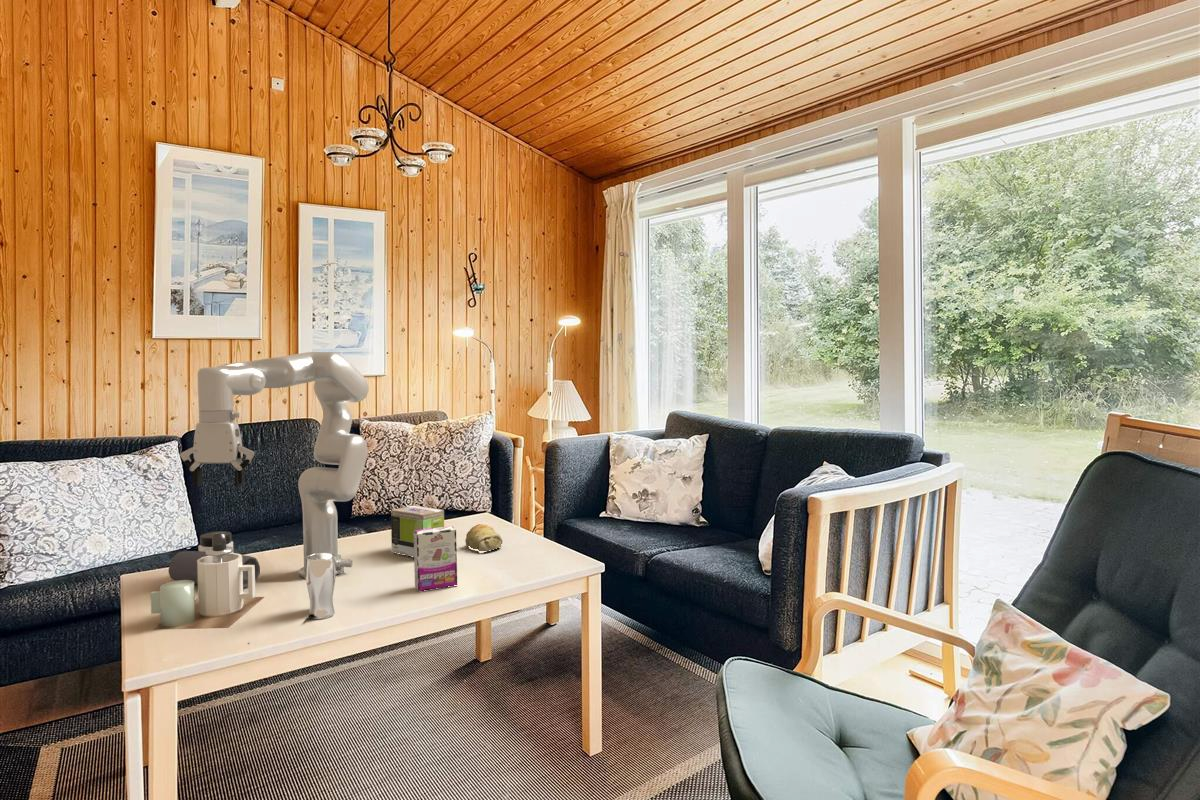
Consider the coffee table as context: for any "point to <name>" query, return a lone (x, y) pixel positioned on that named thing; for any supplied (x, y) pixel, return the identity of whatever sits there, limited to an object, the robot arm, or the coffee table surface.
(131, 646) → the coffee table surface
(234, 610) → the press carafe
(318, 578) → the beer glass
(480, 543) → the pastry
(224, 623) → the serving board
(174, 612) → the sage mug
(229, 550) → the plunger
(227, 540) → the jar
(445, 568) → the candy bar box
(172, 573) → the bluetooth speaker
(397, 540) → the tea box
